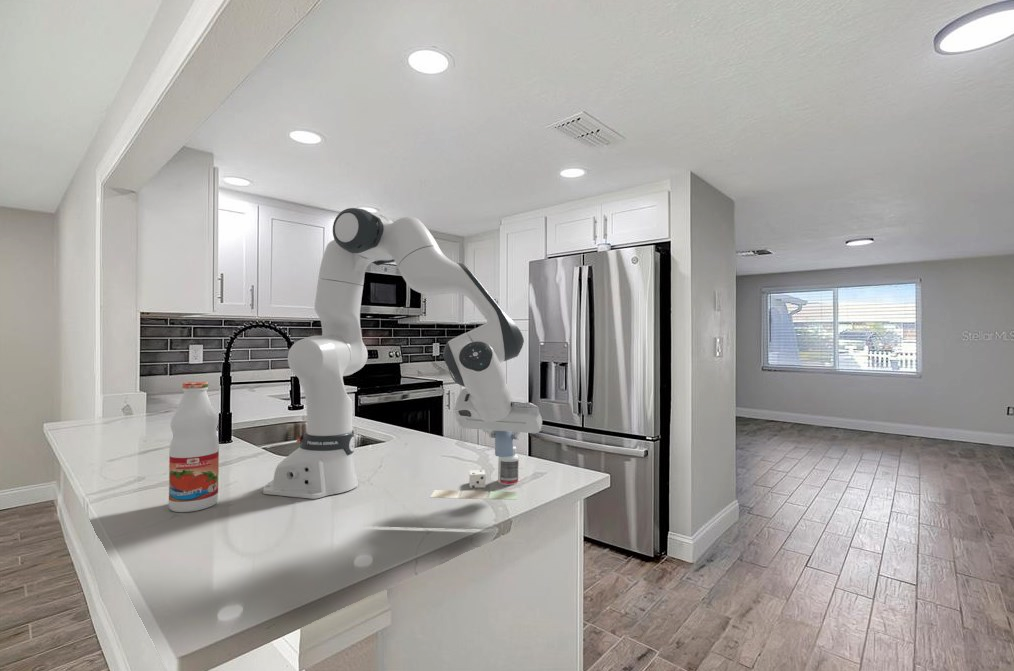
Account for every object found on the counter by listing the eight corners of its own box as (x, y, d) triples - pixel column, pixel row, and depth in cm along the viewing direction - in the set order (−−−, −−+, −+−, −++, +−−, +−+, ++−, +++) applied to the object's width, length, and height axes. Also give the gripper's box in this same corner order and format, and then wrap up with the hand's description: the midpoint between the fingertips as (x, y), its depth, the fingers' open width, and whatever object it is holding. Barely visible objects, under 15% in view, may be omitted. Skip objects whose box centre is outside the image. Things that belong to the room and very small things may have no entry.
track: (426, 500, 113) (426, 497, 113) (430, 491, 119) (430, 489, 119) (520, 502, 112) (520, 499, 112) (520, 493, 118) (520, 491, 118)
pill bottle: (522, 484, 126) (522, 448, 126) (505, 488, 123) (505, 450, 123) (510, 479, 130) (511, 444, 130) (494, 482, 127) (494, 446, 127)
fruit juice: (221, 496, 114) (222, 380, 114) (214, 509, 105) (216, 384, 105) (174, 501, 110) (175, 381, 110) (163, 515, 101) (165, 385, 101)
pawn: (493, 456, 113) (493, 421, 113) (496, 451, 118) (496, 418, 118) (511, 457, 113) (511, 422, 113) (513, 452, 117) (513, 418, 117)
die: (469, 490, 121) (469, 474, 121) (469, 485, 125) (469, 470, 125) (485, 489, 121) (485, 474, 121) (484, 485, 125) (484, 469, 125)
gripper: (539, 392, 106) (548, 428, 115) (455, 389, 112) (469, 423, 121) (535, 415, 102) (544, 450, 111) (447, 410, 107) (463, 444, 117)
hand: (504, 436), depth 116 cm, fingers closed on pawn, 4 cm apart
